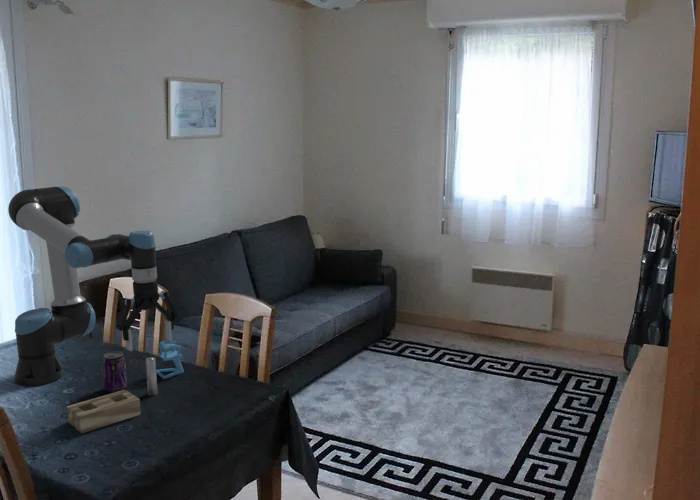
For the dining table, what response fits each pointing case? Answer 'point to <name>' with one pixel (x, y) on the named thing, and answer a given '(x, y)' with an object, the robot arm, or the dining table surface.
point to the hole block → (103, 411)
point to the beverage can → (114, 371)
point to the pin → (151, 376)
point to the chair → (170, 358)
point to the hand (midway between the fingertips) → (149, 344)
